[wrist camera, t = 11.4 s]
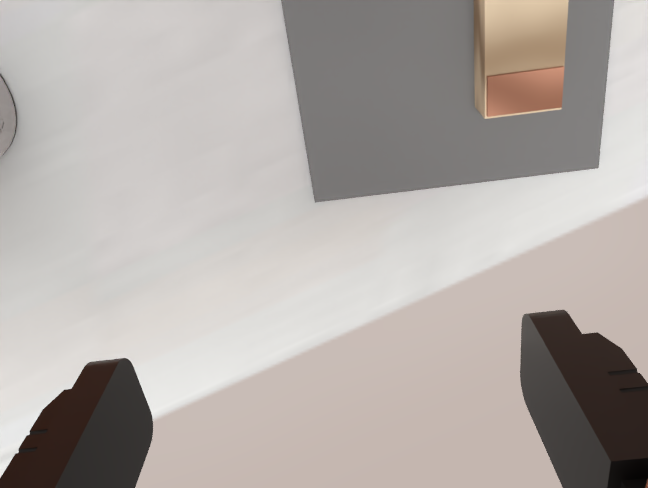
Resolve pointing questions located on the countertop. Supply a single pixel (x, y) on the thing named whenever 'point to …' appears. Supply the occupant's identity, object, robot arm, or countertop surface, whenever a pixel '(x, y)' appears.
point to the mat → (431, 98)
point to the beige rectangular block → (519, 56)
